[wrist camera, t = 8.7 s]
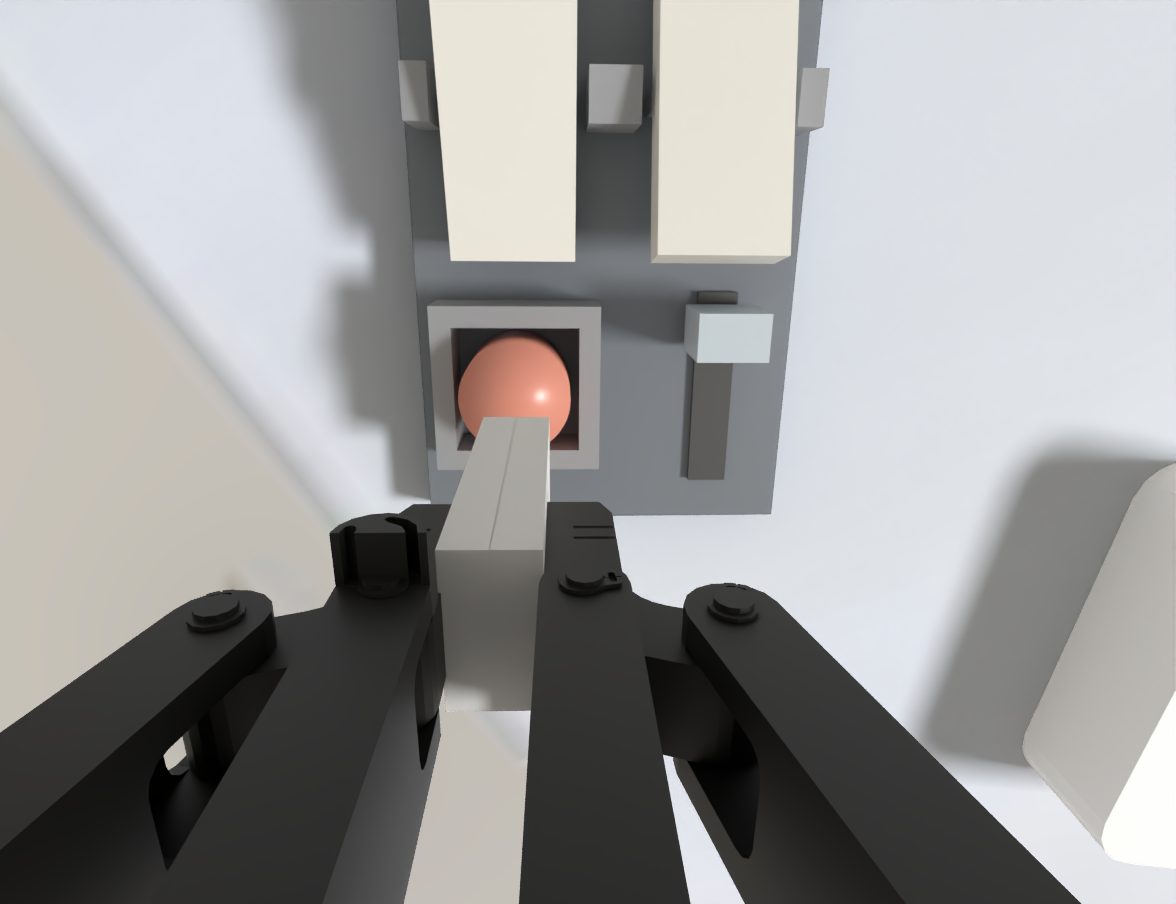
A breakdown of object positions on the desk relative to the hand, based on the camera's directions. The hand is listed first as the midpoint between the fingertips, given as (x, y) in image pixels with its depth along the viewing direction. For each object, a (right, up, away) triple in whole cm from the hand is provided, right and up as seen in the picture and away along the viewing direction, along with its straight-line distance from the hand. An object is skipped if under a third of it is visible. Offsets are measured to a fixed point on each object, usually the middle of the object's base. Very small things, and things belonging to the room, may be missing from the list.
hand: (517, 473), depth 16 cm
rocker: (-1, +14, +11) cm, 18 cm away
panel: (+2, +10, +17) cm, 19 cm away
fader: (+8, +6, +15) cm, 18 cm away
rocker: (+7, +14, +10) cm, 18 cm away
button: (-2, +4, +16) cm, 16 cm away
